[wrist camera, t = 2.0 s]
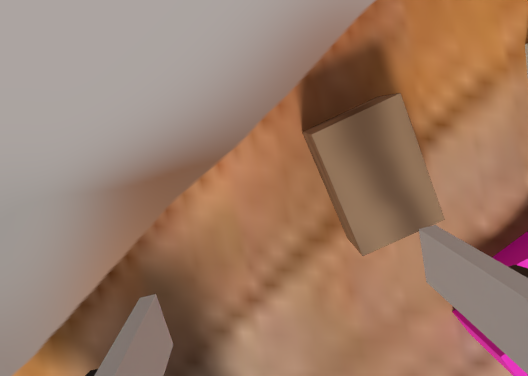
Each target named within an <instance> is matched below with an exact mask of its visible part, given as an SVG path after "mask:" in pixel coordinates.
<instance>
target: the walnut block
mask: <svg viewBox="0 0 528 376" xmlns="http://www.w3.org/2000/svg"><path fill="white" fill-rule="evenodd" d="M302 133H303V135H304V138H305V140H306V142H307V145H308V147H309V149H310V152H311V154H312V156H313V159H314V161H315V163H316V166H317V168H318V171H319V173H320V175H321V178H322V180H323V182H324V185H325V187H326V189H327V192H328V194H329V196H330V199H331V201H332V203H333V206H334V208H335V210H336V213H337V215H338V217H339V220H340V222H341V224H342V227H343V229H344V231H345V234H346V236H347V238H348V239H349V240H350V242H351V243H352V244H353V245H354V246H355V248H356V249H357V250H358V251H359V252H360V253H361V255H362V256H364V255H367V254H369V253H371V252H373V251H376V250H378V249H380V248H382V247H385V246H387V245H389V244H391V243H393V242H396V241H398V240H400V239H402V238H405V237H407V236H409V235H411V234H414V233H416V232H418V231H419V229H421V228H425V227H429V226H431V225H434V224H436V223H438V222H440V221H443V220H445V219H444V216H443V213H442V210H441V207H440V204H439V202H438V199H437V196H436V193H435V190H434V187H433V185H432V182H431V179H430V176H429V173H428V170H427V167H426V165H425V162H424V159H423V156H422V153H421V150H420V148H419V145H418V142H417V139H416V136H415V133H414V130H413V128H412V125H411V122H410V119H409V116H408V113H407V111H406V108H405V105H404V102H403V99H402V96H401V93H398V94H392V95H385V96H379V97H376V98H374V99H372V100H370V101H368V102H366V103H363V104H361V105H359V106H357V107H355V108H353V109H351V110H348V111H346V112H344V113H342V114H340V115H338V116H336V117H333V118H331V119H329V120H327V121H325V122H323V123H321V124H318V125H316V126H314V127H312V128H310V129H308V130H306V131H303V132H302Z"/></svg>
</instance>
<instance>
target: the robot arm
mask: <svg viewBox="0 0 528 376" xmlns="http://www.w3.org/2000/svg"><path fill="white" fill-rule="evenodd" d="M419 234H420V240H421V247H422V254H423V261H424V268H425V275H426V282H427V283H428V284H429V285H430V286H431V287H433V288H434V289H435V290H436V291H437V292H438V293H439V294H440V295H441V296H442V297H443V298H445V299H446V300H447V301H448V302H449V303H450V304H451V305H452V306H453V307H454V308H456V309H457V310H458V311H459V312H460V313H461V314H462V315H463V316H464V317H465V318H466V319H468V320H469V321H470V322H471V323H472V324H473V325H474V326H475V327H476V328H477V329H479V330H480V331H481V332H482V333H483V334H484V335H485V336H486V337H487V338H488V339H489V340H491V341H492V342H493V343H494V344H495V345H496V346H497V347H498V348H499V349H500V350H502V351H503V352H504V353H505V354H506V355H507V356H508V357H509V358H510V359H511V360H512V361H514V362H515V363H516V364H517V365H518V366H519V367H520V368H521V369H522V370H523V371H525V372H526V373H527V374H528V268H525V267H522V266H518V265H512V266H506V265H504V264H502V263H501V262H499V261H497V260H495V259H494V258H492V257H490V256H488V255H487V254H485V253H483V252H481V251H480V250H478V249H476V248H474V247H473V246H471V245H469V244H467V243H466V242H464V241H462V240H460V239H459V238H457V237H455V236H453V235H452V234H450V233H448V232H446V231H445V230H443V229H441V228H439V227H438V226H436V225H433V226H429V227H425V228H421V229H419ZM172 348H173V342H172V339H171V336H170V333H169V330H168V327H167V325H166V322H165V319H164V316H163V313H162V310H161V307H160V304H159V301H158V298H157V295H156V294H154V295H150V296H145V297H141V298H139V300H138V302H137V304H136V305H135V307H134V309H133V310H132V312H131V314H130V316H129V317H128V319H127V321H126V322H125V324H124V326H123V327H122V329H121V331H120V333H119V334H118V336H117V338H116V339H115V341H114V343H113V345H112V346H111V348H110V350H109V351H108V353H107V355H106V357H105V358H104V360H103V362H102V363H101V365H100V367H99V368H98V369H95V370H91V371H90V372H89V373H88V374H87V375H86V376H164V373H165V370H166V366H167V363H168V360H169V357H170V354H171V351H172Z"/></svg>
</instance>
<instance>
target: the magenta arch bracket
mask: <svg viewBox="0 0 528 376" xmlns="http://www.w3.org/2000/svg"><path fill="white" fill-rule="evenodd" d="M492 258H494V259H495V260H497V261H499V262H501V263H502V264H504V265H506V266H512V265H518V266H522V267H525V268H528V231H527V232H526V233H524V234H523V235H522V236H520V237H519V238H518V239H516V240H515V241H514V242H512V243H511V244H510V245H508V246H507V247H506V248H504V249H503V250H501V251H500V252H499V253H497V254H496V255H495V256H493V257H492ZM452 312H453V313H454V315H455V316H456V317H457V318H458V320H459V321H460V322H461V323H462V325H463V326H464V327H465V328H466V330H467V331H468V332H469V333H470V334H471V335H472V336H473V337H474V338H475V339H476V340H477V341H478V342H479V343H480V344H481V345H482V346H483V347H484V348H485V349H486V350H487V351H488V352H489V353H490V354H491V355H492V356H493V357H494V358H495V359H496V360H497V361H498V362H499V363H501V364H502V365H503V366H504V367H505V368H506V369H507V370H508V371H509V372H510V373H511V374H512V375H513V376H528V374H527V373H526V372H525V371H523V370H522V369H521V368H520V367H519V366H518V365H517V364H516V363H515V362H514V361H512V360H511V359H510V358H509V357H508V356H507V355H506V354H505V353H504V352H503V351H502V350H500V349H499V348H498V347H497V346H496V345H495V344H494V343H493V342H492V341H491V340H489V339H488V338H487V337H486V336H485V335H484V334H483V333H482V332H481V331H480V330H479V329H477V328H476V327H475V326H474V325H473V324H472V323H471V322H470V321H469V320H468V319H466V318H465V317H464V316H463V315H462V314H461V313H460V312H459V311H458V310H457V309H455V310H453V311H452Z"/></svg>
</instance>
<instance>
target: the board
mask: <svg viewBox="0 0 528 376" xmlns="http://www.w3.org/2000/svg"><path fill="white" fill-rule="evenodd" d="M525 50H526V63H527V76H528V44H525Z"/></svg>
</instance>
